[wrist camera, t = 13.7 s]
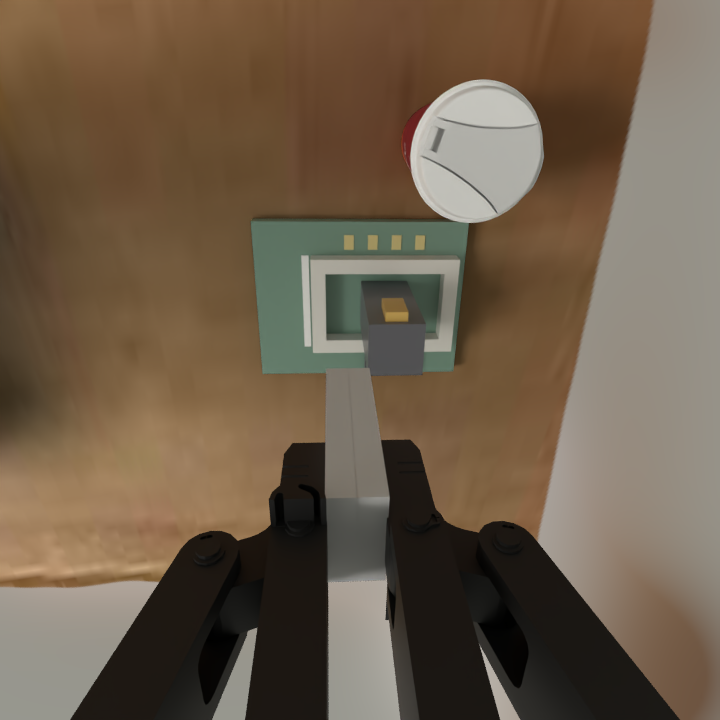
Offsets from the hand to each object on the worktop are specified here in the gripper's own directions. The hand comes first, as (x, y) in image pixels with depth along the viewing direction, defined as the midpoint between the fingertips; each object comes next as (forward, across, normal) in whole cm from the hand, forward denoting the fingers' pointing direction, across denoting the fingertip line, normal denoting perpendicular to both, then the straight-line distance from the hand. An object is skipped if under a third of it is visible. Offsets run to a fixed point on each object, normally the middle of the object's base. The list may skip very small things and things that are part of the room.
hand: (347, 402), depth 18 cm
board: (+28, +2, -6) cm, 29 cm away
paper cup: (+29, +8, +7) cm, 31 cm away
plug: (+27, +4, -6) cm, 28 cm away
